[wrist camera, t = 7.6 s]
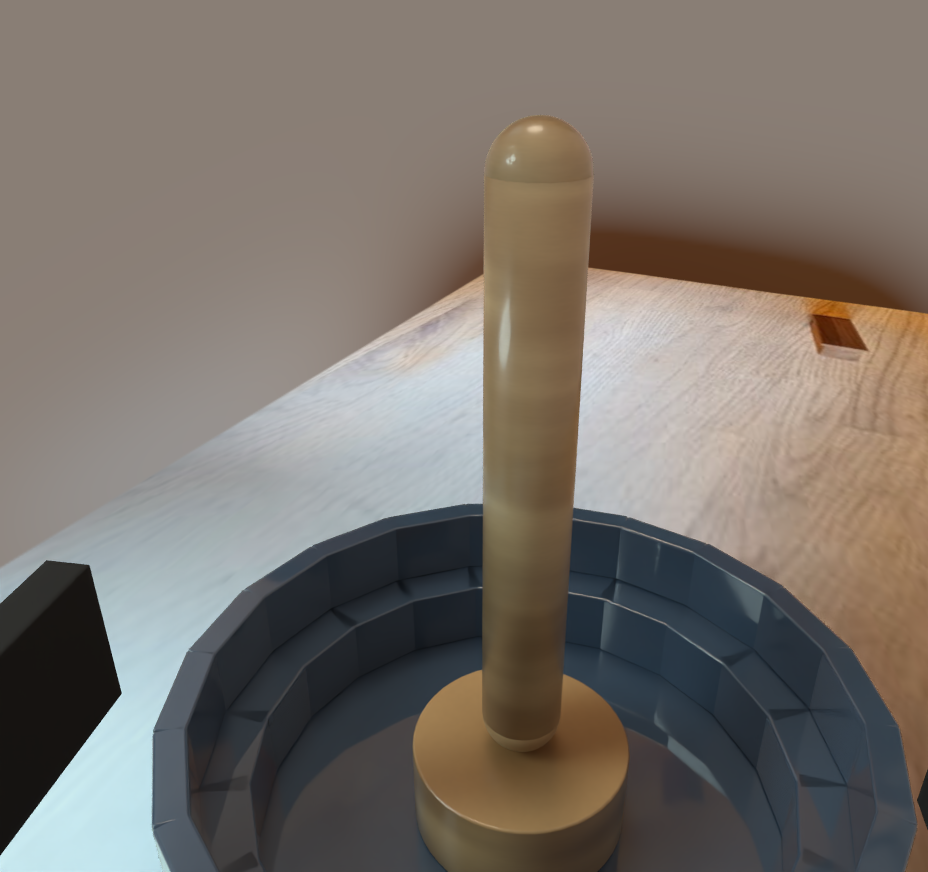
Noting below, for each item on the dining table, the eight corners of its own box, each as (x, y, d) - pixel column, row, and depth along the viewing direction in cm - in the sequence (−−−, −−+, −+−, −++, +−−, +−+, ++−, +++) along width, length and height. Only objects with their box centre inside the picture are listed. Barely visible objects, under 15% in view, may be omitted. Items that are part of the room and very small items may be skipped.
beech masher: (393, 752, 24) (354, 107, 17) (569, 707, 26) (610, 96, 18) (450, 930, 20) (433, 143, 12) (661, 862, 21) (771, 126, 13)
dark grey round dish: (179, 680, 28) (153, 558, 26) (644, 580, 33) (656, 469, 31) (201, 1428, 13) (146, 1291, 11) (1046, 1046, 18) (1126, 897, 16)
